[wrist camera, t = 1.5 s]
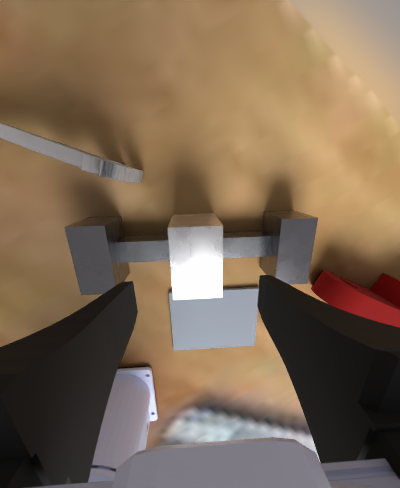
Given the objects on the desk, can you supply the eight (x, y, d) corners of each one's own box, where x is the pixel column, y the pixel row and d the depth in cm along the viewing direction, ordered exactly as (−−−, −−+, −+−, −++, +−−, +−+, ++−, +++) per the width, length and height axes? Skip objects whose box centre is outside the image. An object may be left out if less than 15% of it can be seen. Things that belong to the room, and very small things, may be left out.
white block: (214, 268, 21) (222, 297, 16) (176, 270, 21) (173, 299, 16) (213, 213, 20) (223, 225, 14) (173, 214, 19) (167, 227, 14)
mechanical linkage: (429, 294, 24) (487, 322, 20) (391, 338, 26) (435, 373, 22) (326, 246, 22) (365, 265, 17) (291, 298, 24) (317, 329, 19)
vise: (286, 265, 22) (307, 283, 18) (100, 274, 21) (81, 295, 17) (293, 210, 20) (317, 218, 16) (89, 217, 19) (64, 227, 15)
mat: (253, 342, 25) (254, 345, 25) (173, 347, 25) (173, 350, 24) (258, 286, 22) (259, 288, 22) (169, 291, 22) (168, 293, 22)
